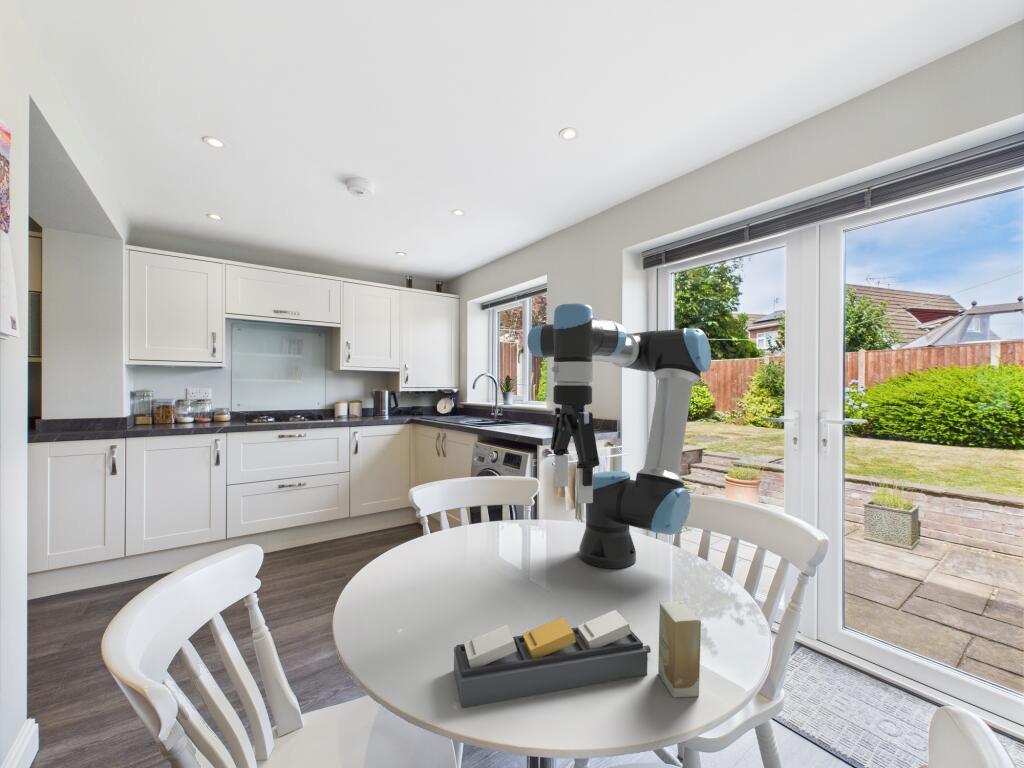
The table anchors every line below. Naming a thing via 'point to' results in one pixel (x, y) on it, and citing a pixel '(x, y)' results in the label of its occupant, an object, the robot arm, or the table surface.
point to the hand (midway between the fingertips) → (572, 494)
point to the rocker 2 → (604, 630)
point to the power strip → (547, 669)
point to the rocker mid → (549, 638)
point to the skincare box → (679, 649)
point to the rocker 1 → (490, 647)
